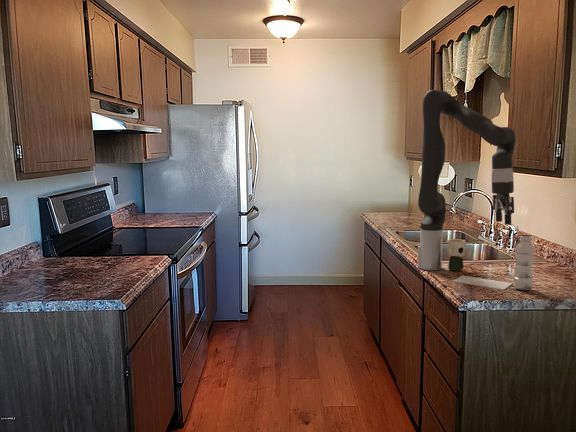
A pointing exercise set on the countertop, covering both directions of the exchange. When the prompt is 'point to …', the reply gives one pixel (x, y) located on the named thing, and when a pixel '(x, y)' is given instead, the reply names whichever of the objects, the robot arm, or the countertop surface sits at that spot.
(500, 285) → the mat
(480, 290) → the countertop surface
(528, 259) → the plastic bottle
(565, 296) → the countertop surface
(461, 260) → the character mug
